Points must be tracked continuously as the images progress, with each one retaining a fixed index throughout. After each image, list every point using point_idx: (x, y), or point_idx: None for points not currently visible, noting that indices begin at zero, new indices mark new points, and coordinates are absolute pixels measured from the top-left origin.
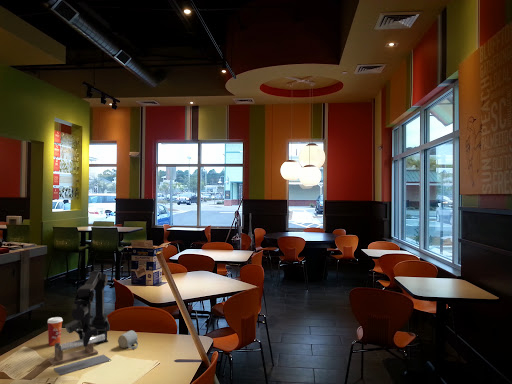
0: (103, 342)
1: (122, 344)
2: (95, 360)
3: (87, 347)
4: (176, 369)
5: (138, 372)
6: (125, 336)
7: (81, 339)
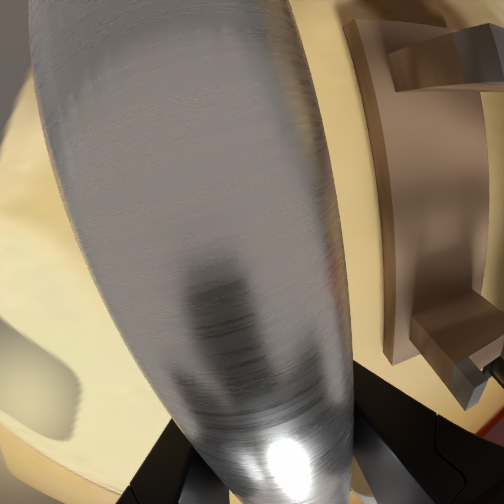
0: (487, 364)
1: None
2: None
3: (458, 318)
4: (63, 491)
5: (43, 441)
6: (374, 498)
7: (276, 481)
